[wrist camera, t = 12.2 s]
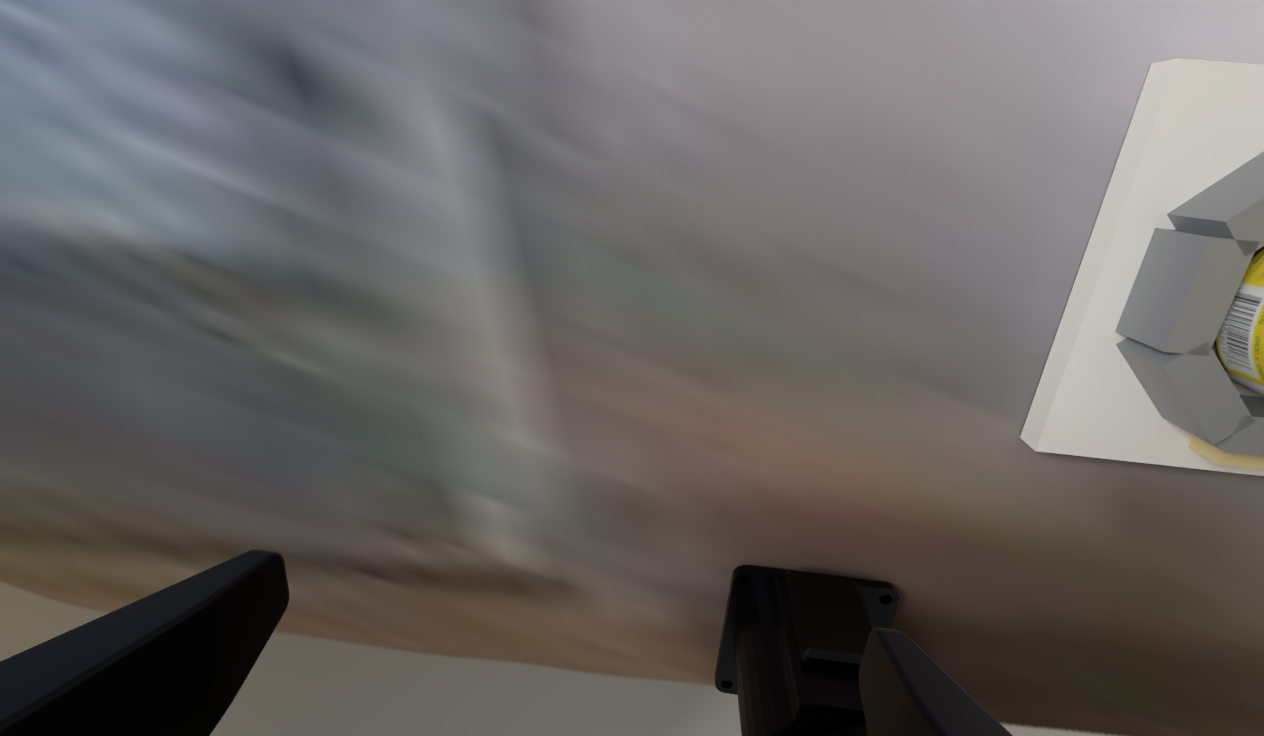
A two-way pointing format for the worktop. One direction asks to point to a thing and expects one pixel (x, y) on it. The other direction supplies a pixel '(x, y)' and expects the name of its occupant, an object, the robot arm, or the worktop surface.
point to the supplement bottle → (1245, 330)
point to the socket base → (1165, 284)
